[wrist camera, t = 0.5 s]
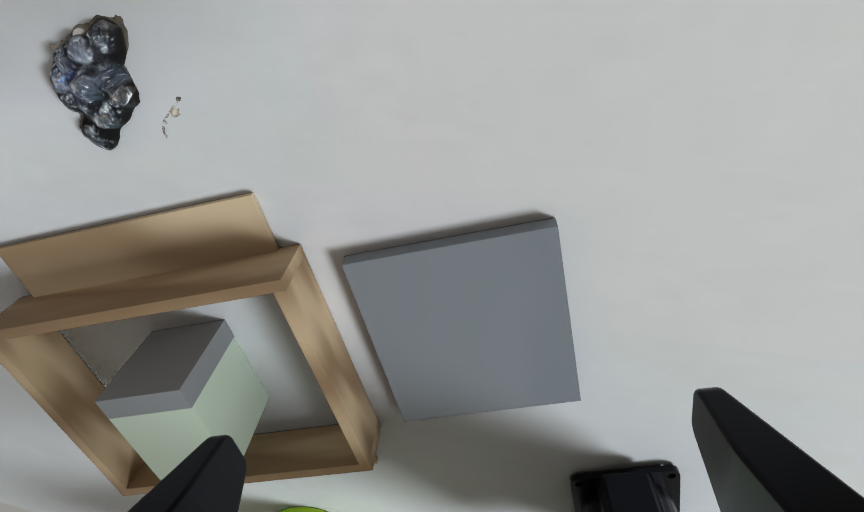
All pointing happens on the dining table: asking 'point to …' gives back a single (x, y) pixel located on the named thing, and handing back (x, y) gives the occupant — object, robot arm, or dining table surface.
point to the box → (184, 394)
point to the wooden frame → (167, 291)
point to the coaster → (470, 320)
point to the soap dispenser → (302, 509)
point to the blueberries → (97, 79)
